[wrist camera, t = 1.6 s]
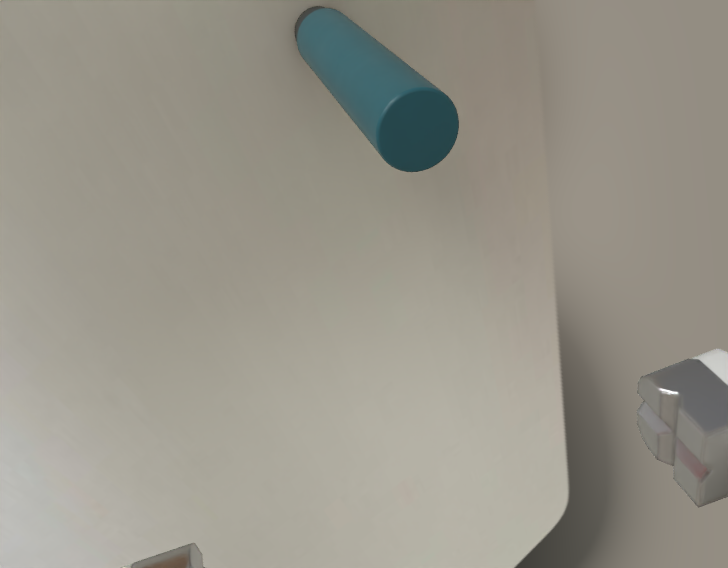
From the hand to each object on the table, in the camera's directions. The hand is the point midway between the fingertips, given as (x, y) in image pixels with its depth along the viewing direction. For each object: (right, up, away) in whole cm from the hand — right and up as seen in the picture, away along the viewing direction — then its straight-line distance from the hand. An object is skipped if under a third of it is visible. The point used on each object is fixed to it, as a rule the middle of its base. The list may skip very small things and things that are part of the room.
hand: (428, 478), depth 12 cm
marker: (-3, +14, +17) cm, 23 cm away
